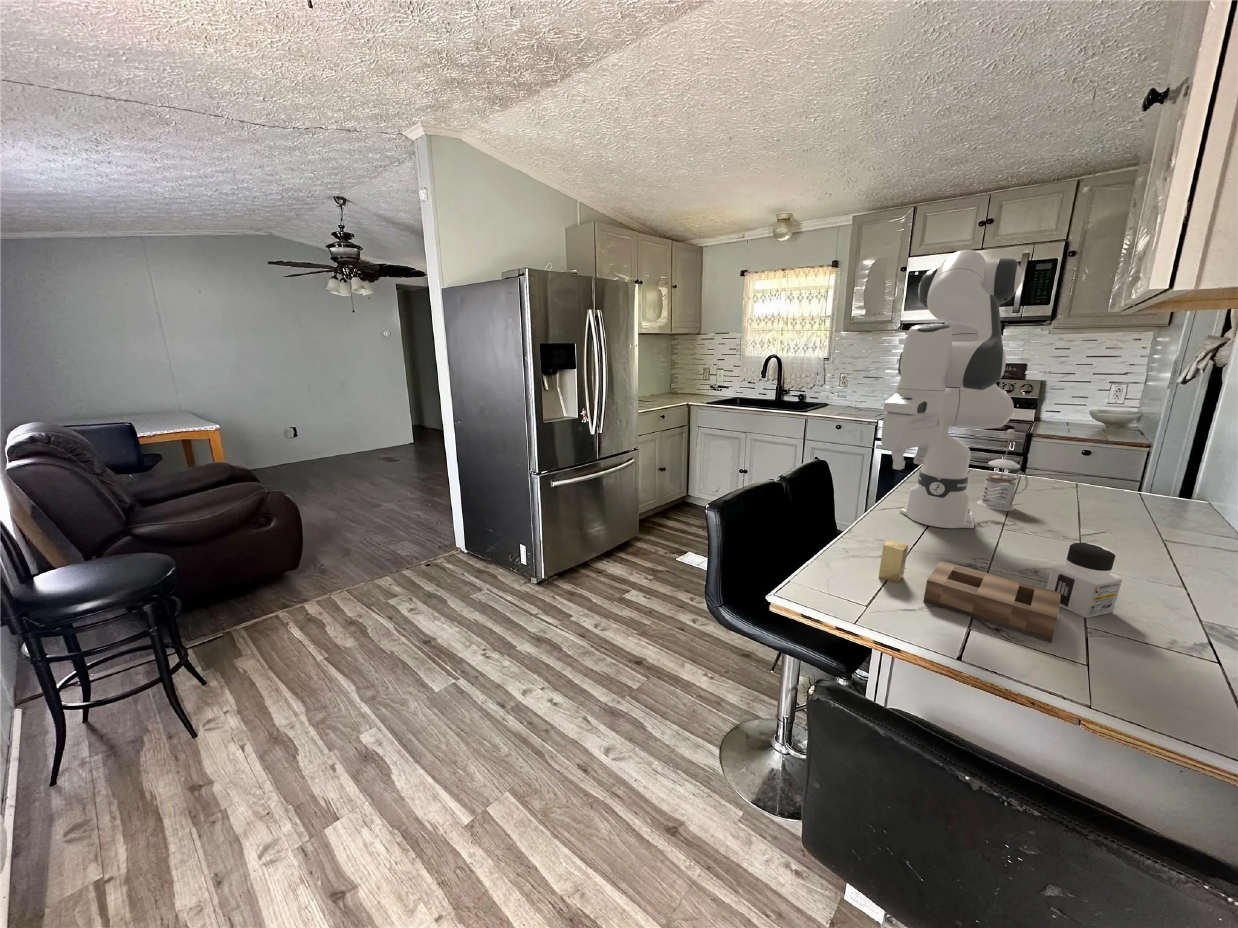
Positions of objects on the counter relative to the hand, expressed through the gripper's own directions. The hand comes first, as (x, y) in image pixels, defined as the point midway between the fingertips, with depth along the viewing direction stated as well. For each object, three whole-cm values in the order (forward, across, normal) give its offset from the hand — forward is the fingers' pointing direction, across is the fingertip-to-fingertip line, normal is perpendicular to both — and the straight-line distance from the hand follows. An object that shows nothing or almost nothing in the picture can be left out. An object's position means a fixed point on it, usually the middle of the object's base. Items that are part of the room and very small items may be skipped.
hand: (908, 466), depth 105 cm
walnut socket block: (+26, -1, +18) cm, 32 cm away
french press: (+23, -75, -3) cm, 79 cm away
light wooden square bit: (+26, +2, 0) cm, 26 cm away
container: (+26, -17, +28) cm, 42 cm away
